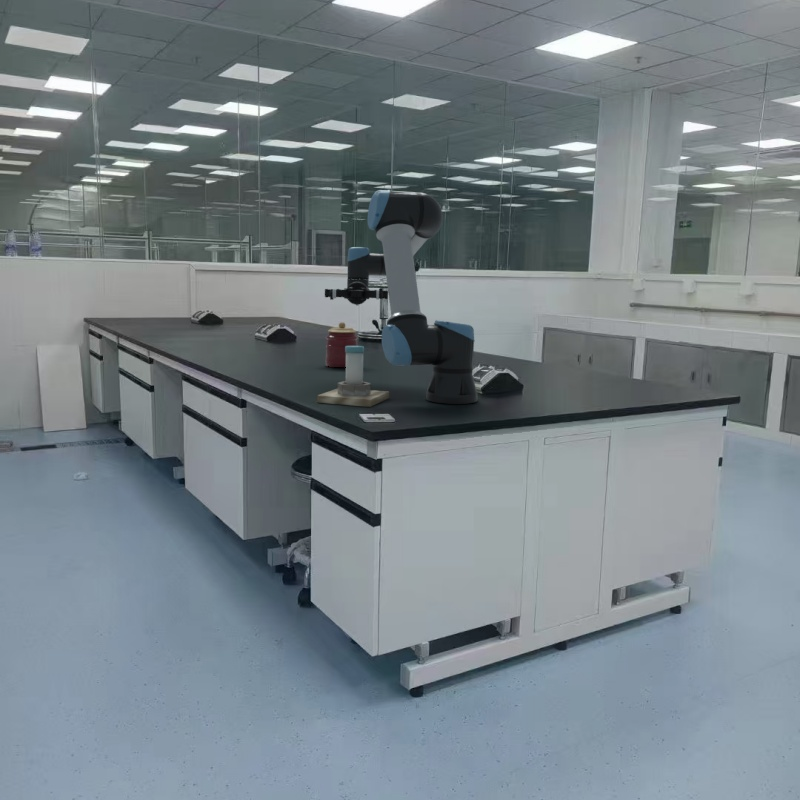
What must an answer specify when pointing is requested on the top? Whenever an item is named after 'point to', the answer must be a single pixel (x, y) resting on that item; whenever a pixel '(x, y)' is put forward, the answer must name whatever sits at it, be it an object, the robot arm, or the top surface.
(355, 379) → the canister
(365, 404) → the collar base
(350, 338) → the canister
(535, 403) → the top surface
